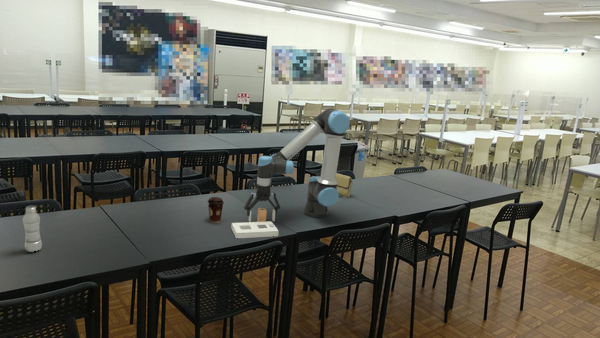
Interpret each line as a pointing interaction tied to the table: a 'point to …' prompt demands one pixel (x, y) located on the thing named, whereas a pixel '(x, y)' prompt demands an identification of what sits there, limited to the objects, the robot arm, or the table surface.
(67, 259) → the table surface
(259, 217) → the tan rectangular block
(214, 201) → the coffee cup
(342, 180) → the clutch purse
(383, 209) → the table surface
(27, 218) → the plastic bottle
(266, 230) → the socket box
